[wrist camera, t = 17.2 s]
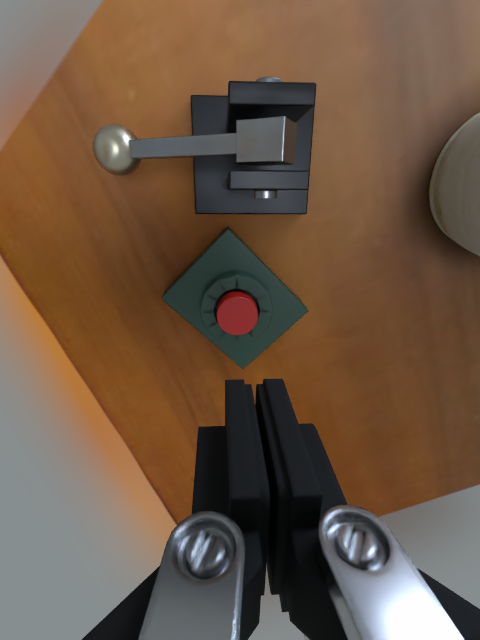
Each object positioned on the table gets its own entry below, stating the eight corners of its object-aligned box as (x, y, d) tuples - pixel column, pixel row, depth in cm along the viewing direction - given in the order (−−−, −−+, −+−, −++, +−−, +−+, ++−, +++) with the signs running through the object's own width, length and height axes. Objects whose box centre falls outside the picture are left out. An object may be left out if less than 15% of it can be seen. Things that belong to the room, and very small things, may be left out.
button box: (164, 291, 33) (157, 304, 30) (227, 226, 31) (228, 230, 27) (241, 359, 36) (243, 378, 33) (303, 303, 34) (313, 317, 31)
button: (208, 310, 30) (208, 316, 29) (236, 282, 30) (237, 288, 28) (236, 335, 31) (237, 343, 30) (264, 309, 31) (266, 316, 29)
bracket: (196, 213, 31) (179, 227, 19) (191, 98, 27) (168, 28, 15) (303, 213, 31) (353, 227, 19) (311, 100, 28) (378, 33, 16)
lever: (119, 176, 26) (86, 175, 23) (113, 129, 25) (78, 122, 22) (296, 174, 20) (280, 171, 18) (299, 114, 19) (283, 101, 17)
